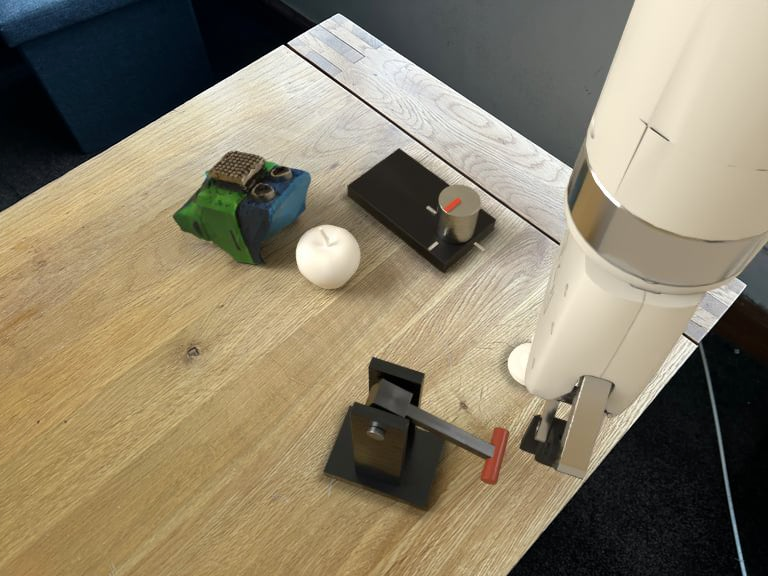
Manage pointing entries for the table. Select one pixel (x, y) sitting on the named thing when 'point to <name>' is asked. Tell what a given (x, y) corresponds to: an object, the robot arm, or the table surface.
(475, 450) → the lever
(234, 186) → the sculpture
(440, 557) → the table surface
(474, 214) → the knob
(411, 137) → the table surface
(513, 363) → the chess piece
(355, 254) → the plain white apple
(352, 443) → the lever bracket
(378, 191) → the dial panel
